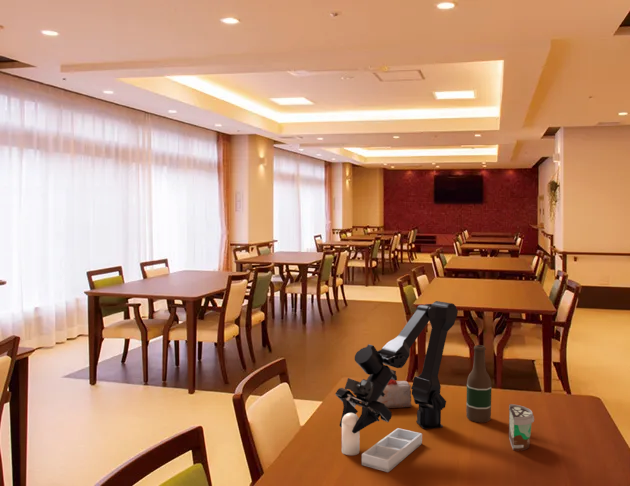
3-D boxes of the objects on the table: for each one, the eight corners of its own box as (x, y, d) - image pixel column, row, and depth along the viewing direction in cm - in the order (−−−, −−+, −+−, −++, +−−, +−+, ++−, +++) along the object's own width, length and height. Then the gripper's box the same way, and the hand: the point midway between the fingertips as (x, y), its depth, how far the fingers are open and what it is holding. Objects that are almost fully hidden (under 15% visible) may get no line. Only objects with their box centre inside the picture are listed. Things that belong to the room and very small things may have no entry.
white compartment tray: (397, 437, 173) (397, 427, 173) (422, 443, 169) (422, 433, 169) (361, 465, 155) (361, 454, 155) (388, 472, 150) (388, 461, 150)
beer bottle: (464, 421, 187) (465, 347, 186) (467, 413, 194) (469, 342, 193) (489, 424, 184) (491, 349, 183) (491, 416, 192) (493, 344, 190)
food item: (374, 411, 196) (374, 382, 196) (368, 403, 204) (368, 375, 204) (412, 408, 199) (413, 380, 198) (405, 401, 207) (405, 373, 206)
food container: (537, 454, 162) (537, 419, 161) (513, 452, 163) (514, 417, 162) (529, 437, 174) (530, 404, 173) (508, 435, 175) (509, 403, 174)
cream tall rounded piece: (356, 447, 166) (356, 409, 166) (361, 454, 161) (361, 415, 161) (339, 448, 165) (339, 410, 164) (344, 456, 160) (344, 416, 160)
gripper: (340, 360, 172) (310, 404, 166) (384, 375, 157) (353, 424, 151) (359, 382, 177) (331, 425, 171) (404, 397, 162) (375, 446, 156)
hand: (346, 429), depth 162 cm, fingers closed on cream tall rounded piece, 5 cm apart
